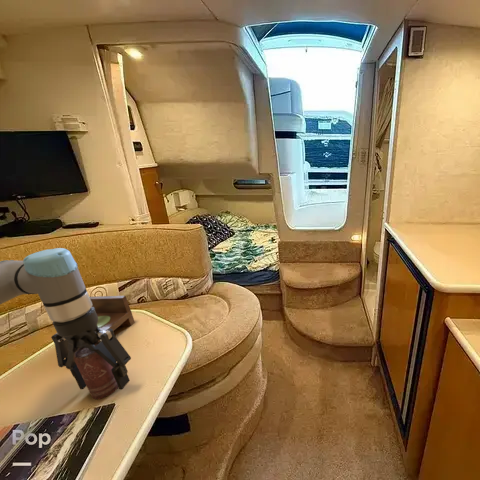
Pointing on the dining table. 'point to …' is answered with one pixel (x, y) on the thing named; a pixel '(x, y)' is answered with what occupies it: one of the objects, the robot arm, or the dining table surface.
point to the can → (95, 373)
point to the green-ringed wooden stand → (112, 312)
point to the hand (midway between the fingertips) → (105, 384)
